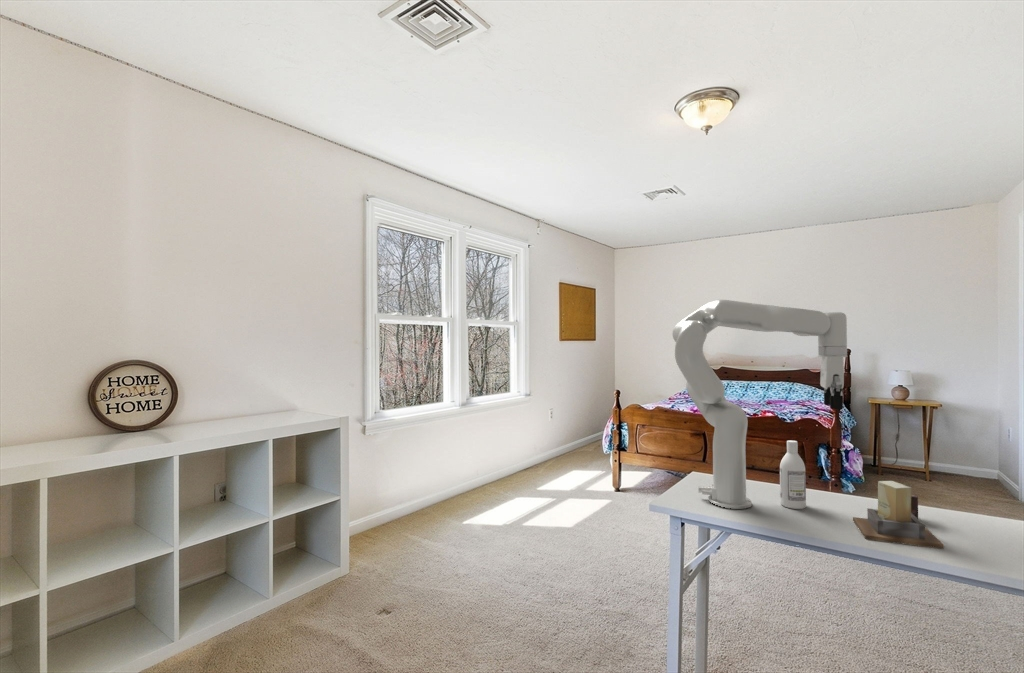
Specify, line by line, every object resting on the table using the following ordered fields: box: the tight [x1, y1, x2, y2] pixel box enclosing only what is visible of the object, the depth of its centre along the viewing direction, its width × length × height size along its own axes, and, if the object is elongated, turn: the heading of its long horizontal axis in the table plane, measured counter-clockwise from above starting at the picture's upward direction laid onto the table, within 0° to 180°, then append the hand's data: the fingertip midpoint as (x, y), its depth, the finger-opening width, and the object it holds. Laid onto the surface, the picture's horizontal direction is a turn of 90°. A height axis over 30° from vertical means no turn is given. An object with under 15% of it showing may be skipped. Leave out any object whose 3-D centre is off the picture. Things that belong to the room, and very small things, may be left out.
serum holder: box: [852, 507, 945, 549], centre depth 132 cm, size 16×14×4 cm
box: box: [911, 493, 919, 520], centre depth 143 cm, size 6×6×7 cm
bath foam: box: [779, 439, 807, 510], centre depth 155 cm, size 7×7×20 cm
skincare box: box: [877, 480, 912, 523], centre depth 132 cm, size 6×4×12 cm
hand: (833, 406), depth 156 cm, fingers open, 9 cm apart
